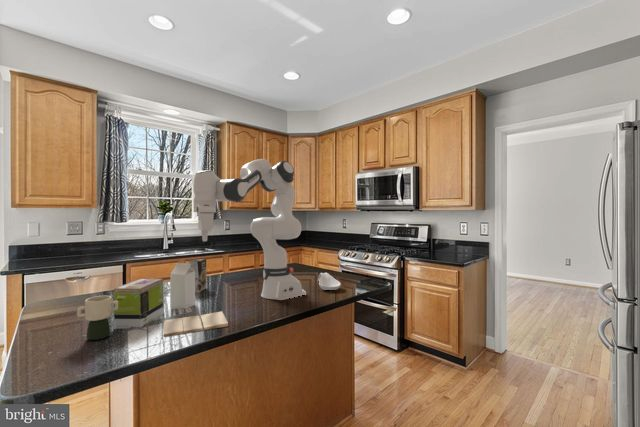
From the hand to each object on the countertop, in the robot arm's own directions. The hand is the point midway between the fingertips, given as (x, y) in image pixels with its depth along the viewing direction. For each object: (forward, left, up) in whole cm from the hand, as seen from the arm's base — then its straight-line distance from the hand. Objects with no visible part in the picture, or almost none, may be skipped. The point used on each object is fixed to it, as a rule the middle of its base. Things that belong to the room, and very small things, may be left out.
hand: (204, 241), depth 127 cm
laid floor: (+9, +18, -29) cm, 35 cm away
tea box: (+23, +4, -29) cm, 38 cm away
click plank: (-1, +18, -29) cm, 34 cm away
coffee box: (0, -35, -29) cm, 46 cm away
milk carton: (+8, -8, -29) cm, 31 cm away
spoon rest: (-65, -12, -30) cm, 72 cm away
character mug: (+34, +15, -29) cm, 47 cm away
